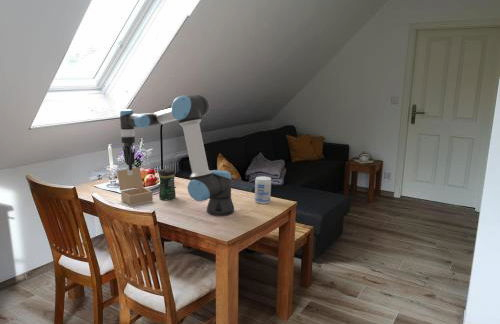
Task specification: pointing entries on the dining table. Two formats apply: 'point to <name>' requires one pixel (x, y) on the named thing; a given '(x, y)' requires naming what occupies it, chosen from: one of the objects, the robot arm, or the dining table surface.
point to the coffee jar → (167, 184)
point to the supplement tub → (262, 189)
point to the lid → (129, 179)
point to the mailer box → (136, 196)
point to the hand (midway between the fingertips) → (130, 174)
